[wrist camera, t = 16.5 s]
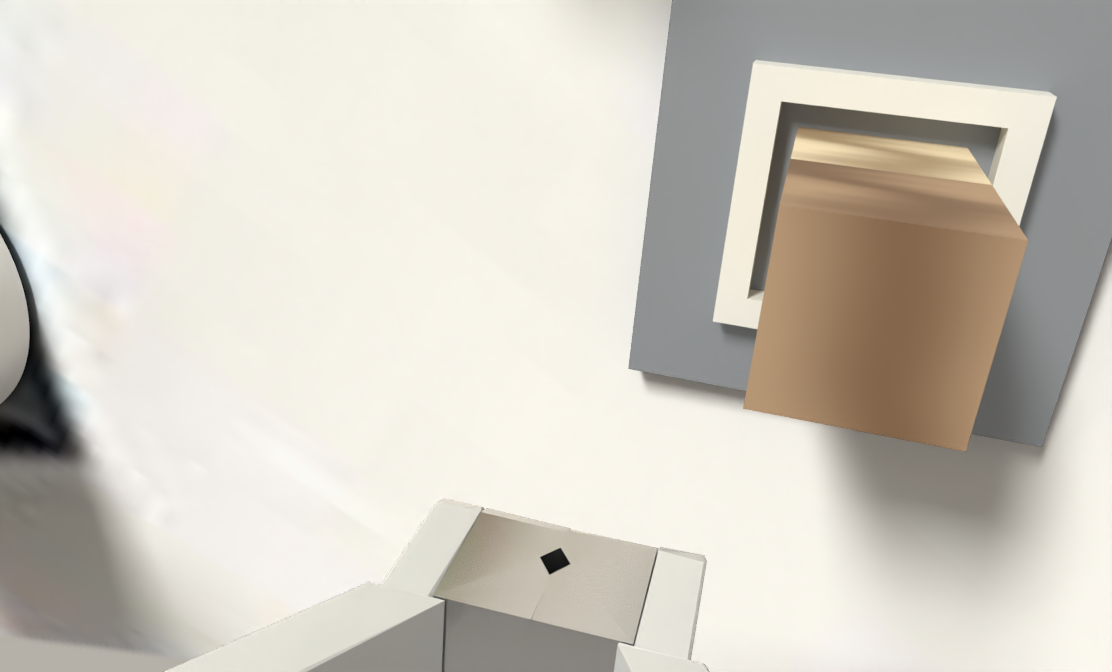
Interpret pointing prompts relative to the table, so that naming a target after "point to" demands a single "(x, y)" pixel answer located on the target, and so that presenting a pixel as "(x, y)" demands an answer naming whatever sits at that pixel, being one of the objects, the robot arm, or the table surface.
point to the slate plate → (885, 111)
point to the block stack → (884, 288)
